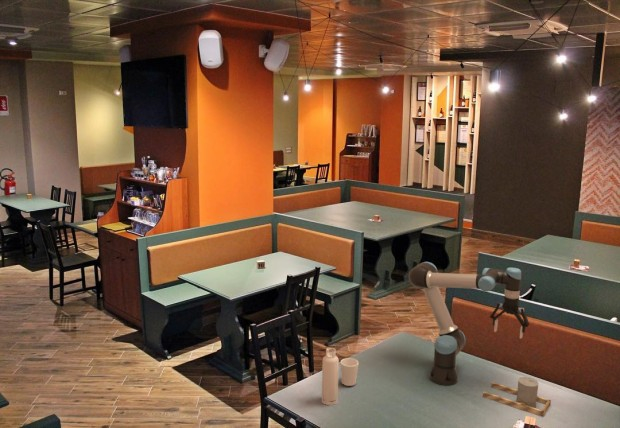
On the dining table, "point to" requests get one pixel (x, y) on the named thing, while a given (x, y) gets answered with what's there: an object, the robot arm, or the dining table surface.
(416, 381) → the dining table surface
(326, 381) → the bottle
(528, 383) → the speckled beige cylinder
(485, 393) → the beam frame
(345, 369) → the cup
